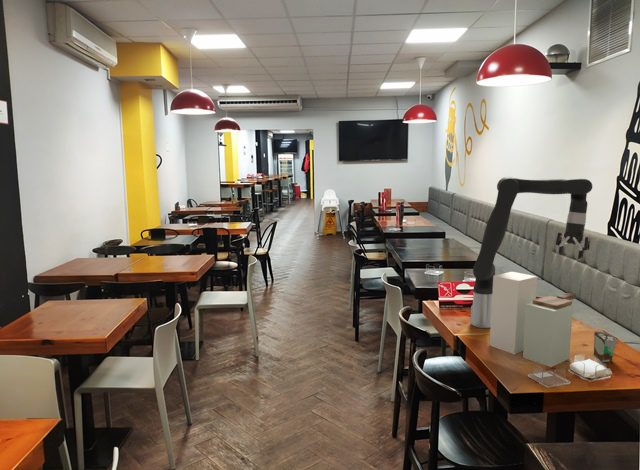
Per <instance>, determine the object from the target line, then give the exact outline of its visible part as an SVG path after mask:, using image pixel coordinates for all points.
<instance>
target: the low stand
mask: <svg viewBox="0 0 640 470" xmlns="http://www.w3.org/2000/svg"><path fill="white" fill-rule="evenodd" d="M573 313H574V305H573V304H571V305H568V306H565V307H562V308H559V309H553V308H549V307H545V306H541V305H537V304H533V302H532V303H528V304H526V316H525V333H524V349H523V351H522V352H523V353H522V358H523V359H527V360H528V361H529V360H530V361H532V362H535V363H537V364H541V365H544V366H546V367H550V368H552V367H554V366H557V365H559V364H561V363H564V362H566V361H569V360H570V350H571V339H572V326H573Z"/></svg>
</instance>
